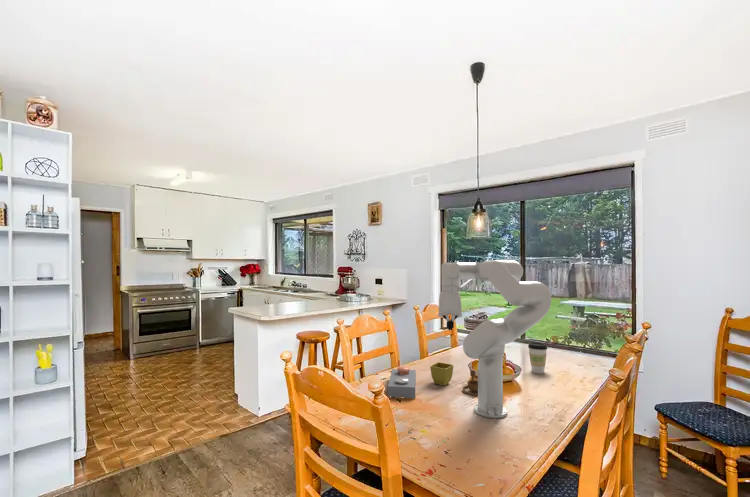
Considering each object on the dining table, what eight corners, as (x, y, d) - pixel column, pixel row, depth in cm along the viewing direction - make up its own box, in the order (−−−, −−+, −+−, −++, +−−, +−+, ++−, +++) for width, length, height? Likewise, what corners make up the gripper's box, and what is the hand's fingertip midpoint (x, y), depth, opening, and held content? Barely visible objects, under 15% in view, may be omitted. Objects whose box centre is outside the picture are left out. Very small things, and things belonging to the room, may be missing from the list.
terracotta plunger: (409, 383, 172) (409, 369, 173) (397, 382, 173) (397, 369, 173) (409, 379, 178) (409, 366, 179) (397, 378, 179) (397, 366, 179)
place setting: (452, 392, 165) (452, 379, 165) (470, 381, 180) (470, 369, 181) (489, 401, 154) (488, 387, 154) (504, 389, 169) (504, 376, 170)
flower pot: (446, 388, 169) (446, 368, 170) (429, 384, 174) (429, 365, 175) (454, 383, 176) (453, 364, 177) (438, 379, 181) (438, 361, 182)
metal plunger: (408, 395, 158) (408, 381, 159) (395, 395, 159) (395, 380, 159) (408, 390, 164) (408, 377, 165) (396, 390, 165) (396, 376, 165)
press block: (415, 399, 155) (415, 387, 155) (387, 397, 156) (387, 386, 157) (415, 379, 181) (415, 370, 181) (392, 379, 182) (392, 369, 183)
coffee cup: (524, 370, 198) (523, 343, 199) (536, 368, 202) (536, 341, 203) (539, 375, 189) (538, 346, 190) (551, 372, 193) (551, 345, 194)
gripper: (465, 289, 166) (465, 328, 165) (433, 288, 168) (433, 327, 167) (467, 290, 159) (468, 331, 158) (433, 289, 160) (434, 330, 160)
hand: (450, 329), depth 162 cm, fingers closed
